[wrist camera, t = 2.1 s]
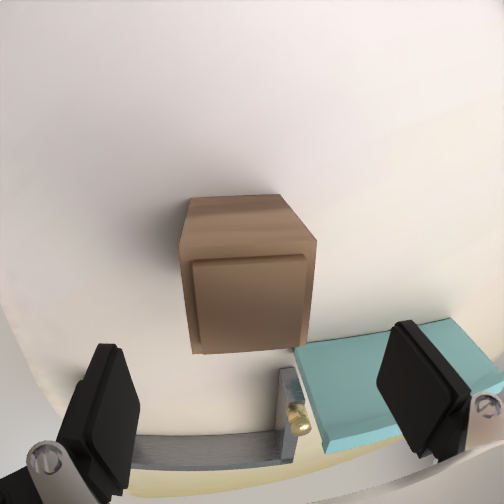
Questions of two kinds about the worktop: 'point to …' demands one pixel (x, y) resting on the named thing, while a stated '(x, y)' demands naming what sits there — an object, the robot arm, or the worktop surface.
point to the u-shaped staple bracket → (232, 440)
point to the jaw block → (246, 274)
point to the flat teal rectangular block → (364, 382)
